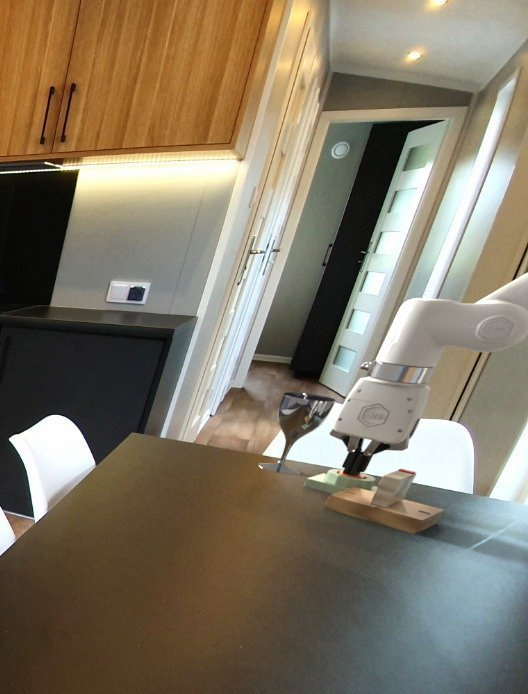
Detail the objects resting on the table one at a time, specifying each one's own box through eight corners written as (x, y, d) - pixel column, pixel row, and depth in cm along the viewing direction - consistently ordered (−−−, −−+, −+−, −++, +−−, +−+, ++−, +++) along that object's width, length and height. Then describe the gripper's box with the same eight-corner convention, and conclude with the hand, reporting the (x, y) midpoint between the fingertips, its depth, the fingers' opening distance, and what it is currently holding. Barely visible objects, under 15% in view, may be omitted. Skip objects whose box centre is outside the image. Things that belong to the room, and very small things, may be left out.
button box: (385, 498, 117) (394, 480, 115) (369, 504, 114) (379, 486, 112) (319, 481, 125) (327, 464, 123) (303, 486, 122) (310, 469, 120)
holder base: (438, 522, 107) (446, 508, 106) (413, 535, 102) (421, 519, 101) (349, 498, 116) (355, 485, 115) (321, 508, 111) (328, 494, 110)
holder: (386, 507, 105) (401, 478, 103) (369, 503, 107) (384, 473, 105) (402, 500, 109) (417, 472, 106) (385, 496, 110) (400, 468, 108)
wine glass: (300, 467, 132) (331, 396, 126) (306, 477, 126) (339, 403, 120) (253, 460, 136) (281, 390, 130) (257, 469, 130) (286, 397, 124)
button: (364, 484, 118) (368, 475, 117) (356, 487, 116) (360, 478, 115) (340, 478, 121) (344, 469, 120) (332, 481, 119) (336, 472, 118)
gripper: (336, 367, 114) (294, 464, 122) (451, 384, 102) (395, 490, 110) (354, 365, 117) (311, 459, 125) (466, 381, 106) (412, 484, 114)
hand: (351, 473), depth 118 cm, fingers closed
